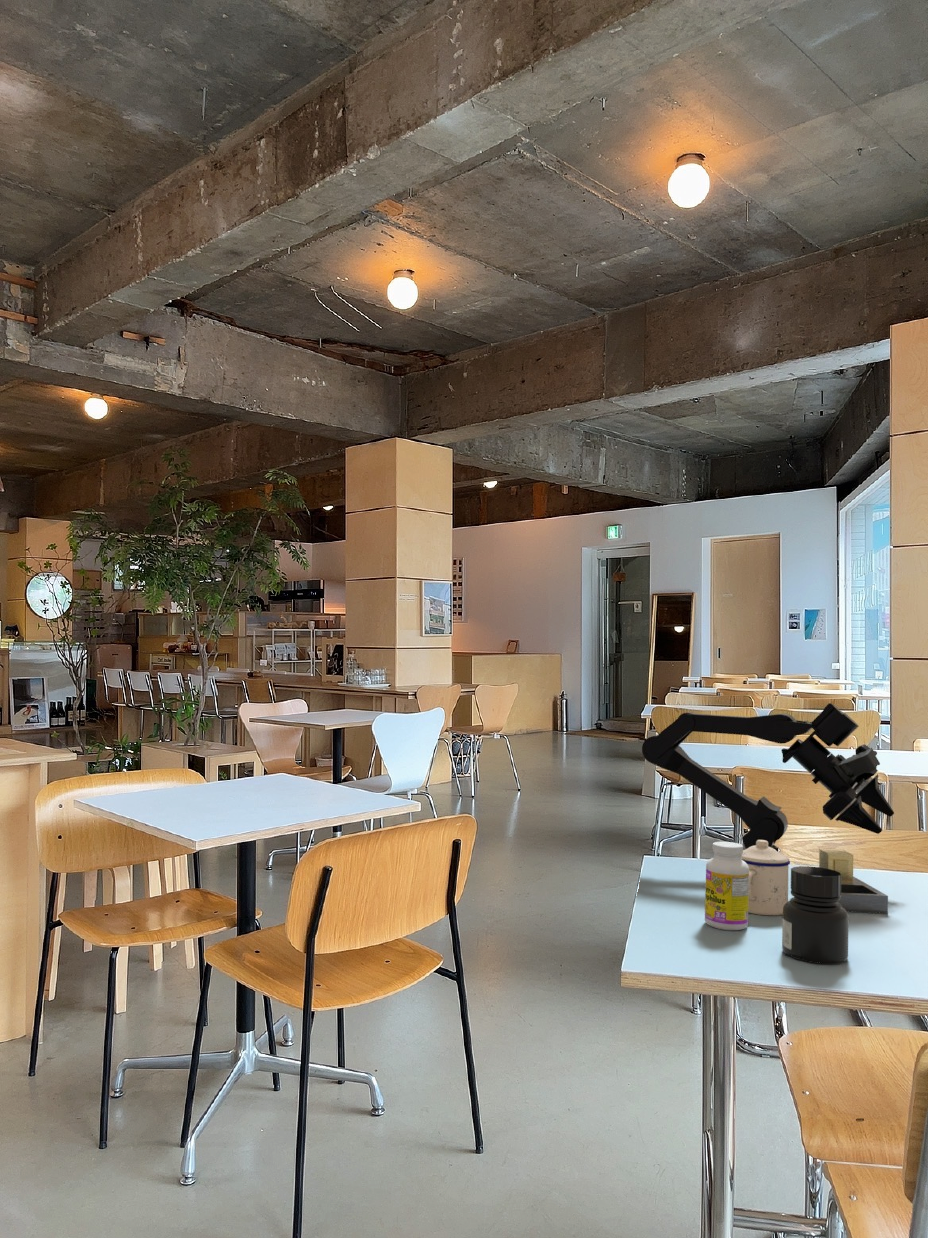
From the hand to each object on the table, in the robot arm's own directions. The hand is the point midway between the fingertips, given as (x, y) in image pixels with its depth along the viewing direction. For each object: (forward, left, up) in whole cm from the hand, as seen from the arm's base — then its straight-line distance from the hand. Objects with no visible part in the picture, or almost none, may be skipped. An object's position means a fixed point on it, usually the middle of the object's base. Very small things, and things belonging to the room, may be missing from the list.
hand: (886, 823), depth 171 cm
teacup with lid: (-29, -17, -13) cm, 36 cm away
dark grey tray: (-11, -8, -13) cm, 19 cm away
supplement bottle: (-37, -27, -13) cm, 47 cm away
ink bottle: (-28, -41, -13) cm, 51 cm away
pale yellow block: (-11, -4, -10) cm, 15 cm away
